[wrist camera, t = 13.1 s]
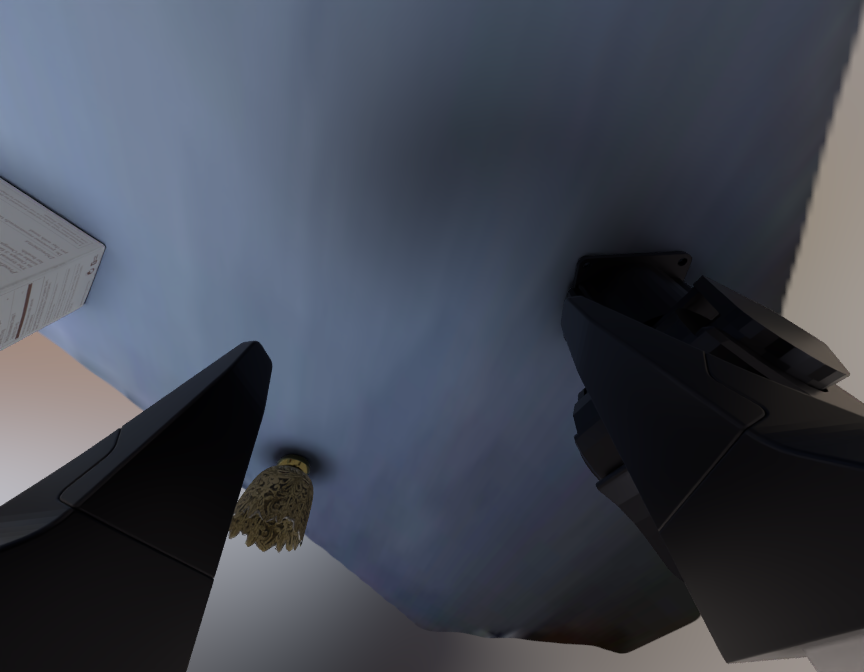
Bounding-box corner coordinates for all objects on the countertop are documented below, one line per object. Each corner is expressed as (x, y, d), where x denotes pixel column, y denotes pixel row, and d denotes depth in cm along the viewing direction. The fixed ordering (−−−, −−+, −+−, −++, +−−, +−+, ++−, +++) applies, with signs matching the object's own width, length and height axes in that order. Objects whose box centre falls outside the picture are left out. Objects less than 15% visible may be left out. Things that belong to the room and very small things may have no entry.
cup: (342, 470, 37) (317, 547, 31) (297, 484, 40) (266, 557, 33) (295, 433, 34) (256, 512, 27) (250, 451, 36) (204, 527, 30)
